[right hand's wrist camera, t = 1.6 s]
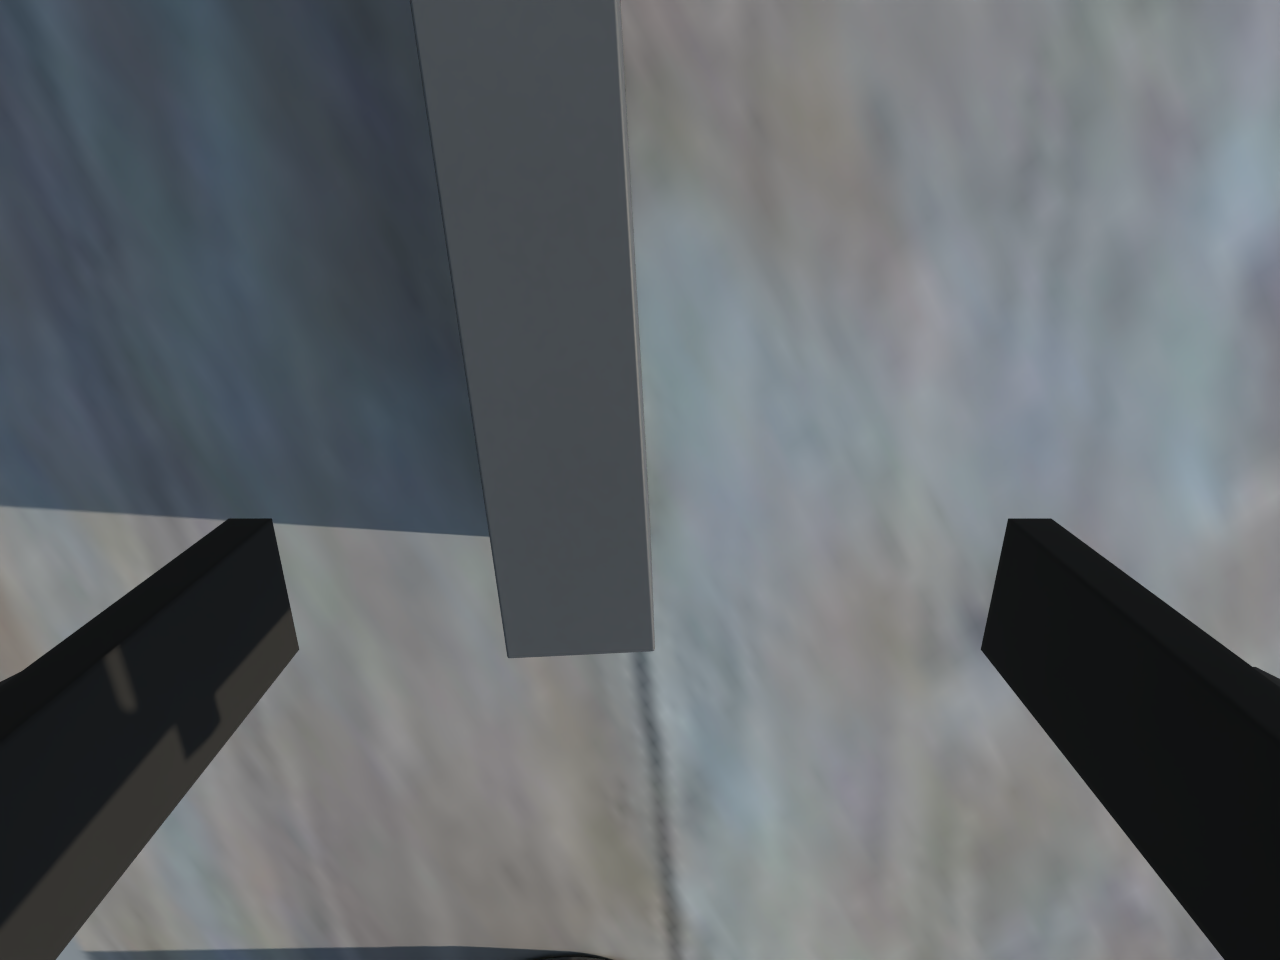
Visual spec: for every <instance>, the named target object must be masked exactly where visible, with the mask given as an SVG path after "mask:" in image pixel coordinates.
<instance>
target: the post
mask: <svg viewBox="0 0 1280 960" xmlns="http://www.w3.org/2000/svg"><path fill="white" fill-rule="evenodd" d="M410 4H411V10H412V17H413V24H414V30H415V37H416V44H417V51H418V57H419V64H420V71H421V78H422V84H423V91H424V98H425V105H426V111H427V118H428V125H429V132H430V138H431V145H432V152H433V158H434V165H435V172H436V179H437V185H438V192H439V199H440V206H441V212H442V219H443V226H444V233H445V239H446V246H447V253H448V260H449V266H450V273H451V280H452V286H453V293H454V300H455V307H456V313H457V320H458V327H459V334H460V340H461V347H462V354H463V361H464V367H465V374H466V381H467V387H468V394H469V401H470V408H471V414H472V421H473V428H474V435H475V441H476V448H477V455H478V462H479V468H480V475H481V482H482V489H483V495H484V502H485V509H486V515H487V522H488V529H489V536H490V542H491V549H492V556H493V563H494V569H495V576H496V583H497V590H498V596H499V603H500V610H501V616H502V623H503V630H504V637H505V643H506V650H507V656H508V658H523V657H544V656H564V655H584V654H605V653H625V652H645V651H654V649H655V640H654V612H653V585H652V558H651V532H650V515H649V497H648V480H647V462H646V445H645V427H644V409H643V392H642V374H641V357H640V339H639V322H638V304H637V286H636V269H635V251H634V234H633V216H632V199H631V181H630V163H629V146H628V128H627V111H626V93H625V76H624V58H623V40H622V23H621V5H620V0H410Z"/></svg>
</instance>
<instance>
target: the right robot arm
mask: <svg viewBox="0 0 1280 960" xmlns="http://www.w3.org/2000/svg"><path fill="white" fill-rule="evenodd" d="M298 650H299V646H298V642H297V637H296V632H295V627H294V623H293V618H292V613H291V608H290V603H289V599H288V594H287V589H286V584H285V580H284V575H283V570H282V565H281V560H280V556H279V551H278V546H277V541H276V537H275V532H274V527H273V522H272V519H228V520H226V521H225V522H224V523H222V524H221V525H219V526H218V527H217V528H215V529H214V530H213V531H211V532H210V533H209V534H207V535H206V536H205V537H203V538H202V539H200V540H199V541H198V542H196V543H195V544H194V545H192V546H191V547H190V548H188V549H187V550H186V551H184V552H183V553H182V554H180V555H179V556H177V557H176V558H175V559H173V560H172V561H171V562H169V563H168V564H167V565H165V566H164V567H163V568H161V569H160V570H158V571H157V572H156V573H154V574H153V575H152V576H150V577H149V578H148V579H146V580H145V581H144V582H142V583H141V584H139V585H138V586H137V587H135V588H134V589H133V590H131V591H130V592H129V593H127V594H126V595H125V596H123V597H122V598H120V599H119V600H118V601H116V602H115V603H114V604H112V605H111V606H110V607H108V608H107V609H106V610H104V611H103V612H101V613H100V614H99V615H97V616H96V617H95V618H93V619H92V620H91V621H89V622H88V623H87V624H85V625H84V626H82V627H81V628H80V629H78V630H77V631H76V632H74V633H73V634H72V635H70V636H69V637H68V638H66V639H65V640H64V641H62V642H61V643H59V644H58V645H57V646H55V647H54V648H53V649H51V650H50V651H49V652H47V653H46V654H45V655H43V656H42V657H40V658H39V659H38V660H36V661H35V662H34V663H32V664H31V665H30V666H28V667H27V668H26V669H24V670H23V671H21V672H19V673H17V674H15V675H13V676H11V677H9V678H7V679H5V680H3V681H1V682H0V960H56V958H57V957H58V956H59V955H60V953H61V952H62V951H63V950H64V948H65V947H66V946H67V944H68V943H69V942H70V941H71V939H72V938H73V937H74V936H75V934H76V933H77V932H78V930H79V929H80V928H81V927H82V925H83V924H84V923H85V922H86V920H87V919H88V918H89V916H90V915H91V914H92V913H93V911H94V910H95V909H96V907H97V906H98V905H99V904H100V902H101V901H102V900H103V899H104V897H105V896H106V895H107V893H108V892H109V891H110V890H111V888H112V887H113V886H114V885H115V883H116V882H117V881H118V879H119V878H120V877H121V876H122V874H123V873H124V872H125V871H126V869H127V868H128V867H129V865H130V864H131V863H132V862H133V860H134V859H135V858H136V857H137V855H138V854H139V853H140V851H141V850H142V849H143V848H144V846H145V845H146V844H147V843H148V841H149V840H150V839H151V837H152V836H153V835H154V834H155V832H156V831H157V830H158V829H159V827H160V826H161V825H162V823H163V822H164V821H165V820H166V818H167V817H168V816H169V815H170V813H171V812H172V811H173V809H174V808H175V807H176V806H177V804H178V803H179V802H180V801H181V799H182V798H183V797H184V795H185V794H186V793H187V792H188V790H189V789H190V788H191V787H192V785H193V784H194V783H195V781H196V780H197V779H198V778H199V776H200V775H201V774H202V773H203V771H204V770H205V769H206V767H207V766H208V765H209V764H210V762H211V761H212V760H213V759H214V757H215V756H216V755H217V753H218V752H219V751H220V750H221V748H222V747H223V746H224V745H225V743H226V742H227V741H228V739H229V738H230V737H231V736H232V734H233V733H234V732H235V731H236V729H237V728H238V727H239V725H240V724H241V723H242V722H243V720H244V719H245V718H246V717H247V715H248V714H249V713H250V711H251V710H252V709H253V708H254V706H255V705H256V704H257V703H258V701H259V700H260V699H261V697H262V696H263V695H264V694H265V692H266V691H267V690H268V688H269V687H270V686H271V685H272V683H273V682H274V681H275V680H276V678H277V677H278V676H279V674H280V673H281V672H282V671H283V669H284V668H285V667H286V666H287V664H288V663H289V662H290V660H291V659H292V658H293V657H294V655H295V654H296V653H297V652H298ZM981 650H982V652H983V653H984V654H985V655H986V657H987V658H988V659H989V660H990V662H991V663H992V664H993V666H994V667H995V668H996V669H997V671H998V672H999V673H1000V674H1001V676H1002V677H1003V678H1004V680H1005V681H1006V682H1007V683H1008V685H1009V686H1010V687H1011V688H1012V690H1013V691H1014V692H1015V694H1016V695H1017V696H1018V697H1019V699H1020V700H1021V701H1022V703H1023V704H1024V705H1025V706H1026V708H1027V709H1028V710H1029V711H1030V713H1031V714H1032V715H1033V717H1034V718H1035V719H1036V720H1037V722H1038V723H1039V724H1040V725H1041V727H1042V728H1043V729H1044V731H1045V732H1046V733H1047V734H1048V736H1049V737H1050V738H1051V739H1052V741H1053V742H1054V743H1055V745H1056V746H1057V747H1058V748H1059V750H1060V751H1061V752H1062V753H1063V755H1064V756H1065V757H1066V759H1067V760H1068V761H1069V762H1070V764H1071V765H1072V766H1073V767H1074V769H1075V770H1076V771H1077V773H1078V774H1079V775H1080V776H1081V778H1082V779H1083V780H1084V781H1085V783H1086V784H1087V785H1088V787H1089V788H1090V789H1091V790H1092V792H1093V793H1094V794H1095V795H1096V797H1097V798H1098V799H1099V801H1100V802H1101V803H1102V804H1103V806H1104V807H1105V808H1106V809H1107V811H1108V812H1109V813H1110V815H1111V816H1112V817H1113V818H1114V820H1115V821H1116V822H1117V823H1118V825H1119V826H1120V827H1121V829H1122V830H1123V831H1124V832H1125V834H1126V835H1127V836H1128V837H1129V839H1130V840H1131V841H1132V843H1133V844H1134V845H1135V846H1136V848H1137V849H1138V850H1139V851H1140V853H1141V854H1142V855H1143V857H1144V858H1145V859H1146V860H1147V862H1148V863H1149V864H1150V865H1151V867H1152V868H1153V869H1154V871H1155V872H1156V873H1157V874H1158V876H1159V877H1160V878H1161V879H1162V881H1163V882H1164V883H1165V885H1166V886H1167V887H1168V888H1169V890H1170V891H1171V892H1172V893H1173V895H1174V896H1175V897H1176V899H1177V900H1178V901H1179V902H1180V904H1181V905H1182V906H1183V907H1184V909H1185V910H1186V911H1187V913H1188V914H1189V915H1190V916H1191V918H1192V919H1193V920H1194V922H1195V923H1196V924H1197V925H1198V927H1199V928H1200V929H1201V930H1202V932H1203V933H1204V934H1205V936H1206V937H1207V938H1208V939H1209V941H1210V942H1211V943H1212V944H1213V946H1214V947H1215V948H1216V950H1217V951H1218V952H1219V953H1220V955H1221V956H1222V957H1223V958H1224V960H1280V679H1279V678H1277V677H1275V676H1273V675H1271V674H1269V673H1267V672H1265V671H1263V670H1261V669H1259V668H1257V667H1252V666H1250V665H1249V664H1248V663H1246V662H1245V661H1244V660H1242V659H1241V658H1240V657H1238V656H1237V655H1235V654H1234V653H1233V652H1231V651H1230V650H1229V649H1227V648H1226V647H1225V646H1223V645H1222V644H1221V643H1219V642H1218V641H1216V640H1215V639H1214V638H1212V637H1211V636H1210V635H1208V634H1207V633H1206V632H1204V631H1203V630H1202V629H1200V628H1199V627H1198V626H1196V625H1195V624H1193V623H1192V622H1191V621H1189V620H1188V619H1187V618H1185V617H1184V616H1183V615H1181V614H1180V613H1179V612H1177V611H1176V610H1174V609H1173V608H1172V607H1170V606H1169V605H1168V604H1166V603H1165V602H1164V601H1162V600H1161V599H1160V598H1158V597H1157V596H1155V595H1154V594H1153V593H1151V592H1150V591H1149V590H1147V589H1146V588H1145V587H1143V586H1142V585H1141V584H1139V583H1138V582H1136V581H1135V580H1134V579H1132V578H1131V577H1130V576H1128V575H1127V574H1126V573H1124V572H1123V571H1122V570H1120V569H1119V568H1117V567H1116V566H1115V565H1113V564H1112V563H1111V562H1109V561H1108V560H1107V559H1105V558H1104V557H1103V556H1101V555H1100V554H1098V553H1097V552H1096V551H1094V550H1093V549H1092V548H1090V547H1089V546H1088V545H1086V544H1085V543H1084V542H1082V541H1081V540H1079V539H1078V538H1077V537H1075V536H1074V535H1073V534H1071V533H1070V532H1069V531H1067V530H1066V529H1065V528H1063V527H1062V526H1061V525H1059V524H1058V523H1056V522H1055V521H1054V520H1052V519H1008V522H1007V527H1006V532H1005V537H1004V541H1003V546H1002V551H1001V556H1000V560H999V565H998V570H997V575H996V580H995V584H994V589H993V594H992V599H991V603H990V608H989V613H988V618H987V623H986V627H985V632H984V637H983V642H982V646H981ZM542 960H604V959H597V958H586V957H559V958H549V959H542Z"/></svg>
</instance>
